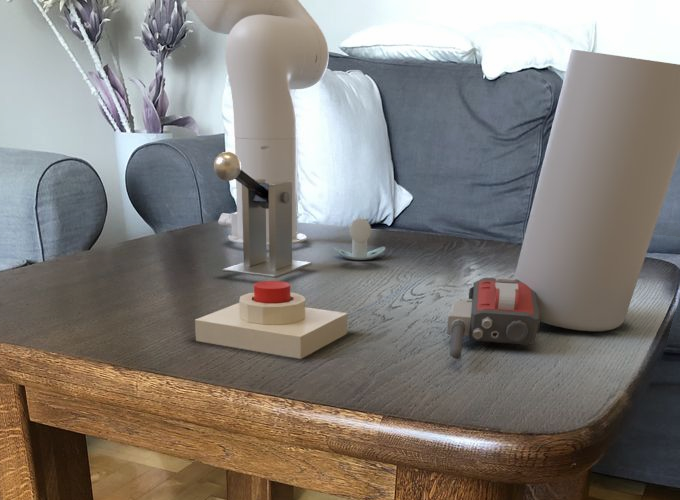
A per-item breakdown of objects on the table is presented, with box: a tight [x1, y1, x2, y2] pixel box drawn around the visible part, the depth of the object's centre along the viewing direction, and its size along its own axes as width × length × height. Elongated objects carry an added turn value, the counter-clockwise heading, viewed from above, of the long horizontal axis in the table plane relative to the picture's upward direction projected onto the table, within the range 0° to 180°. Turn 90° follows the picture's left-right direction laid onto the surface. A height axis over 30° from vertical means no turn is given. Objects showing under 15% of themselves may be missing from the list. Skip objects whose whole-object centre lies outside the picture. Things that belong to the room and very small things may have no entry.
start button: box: [253, 280, 291, 304], centre depth 81 cm, size 4×4×2 cm
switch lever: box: [213, 151, 269, 209], centre depth 101 cm, size 13×3×3 cm, turn 152°
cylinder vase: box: [513, 49, 680, 332], centre depth 84 cm, size 12×12×25 cm
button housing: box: [194, 291, 348, 360], centre depth 82 cm, size 12×10×4 cm
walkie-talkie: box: [446, 277, 541, 360], centre depth 81 cm, size 9×4×20 cm
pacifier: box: [333, 217, 386, 261], centre depth 115 cm, size 7×6×6 cm
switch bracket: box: [222, 179, 312, 279], centre depth 108 cm, size 10×8×12 cm
